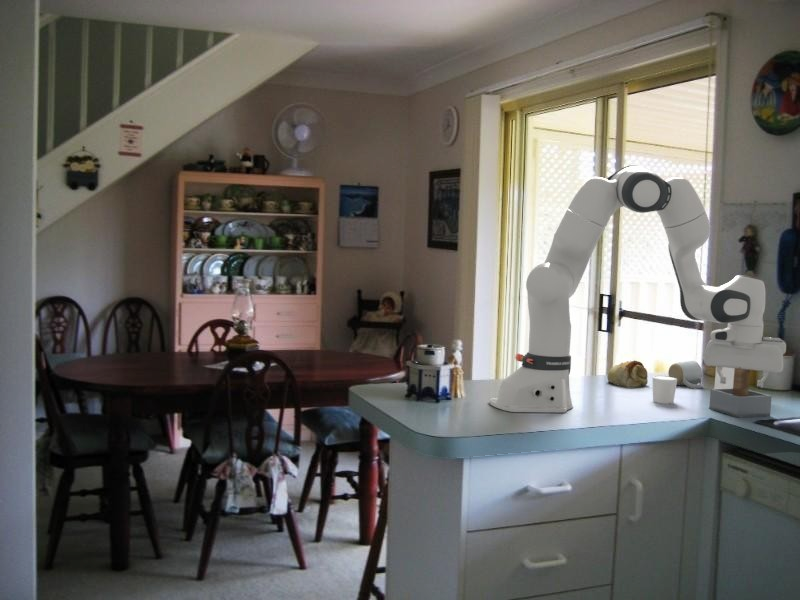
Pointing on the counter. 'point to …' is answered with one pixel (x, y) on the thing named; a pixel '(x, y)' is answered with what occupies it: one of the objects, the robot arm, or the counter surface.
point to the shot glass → (664, 389)
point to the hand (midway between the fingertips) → (741, 385)
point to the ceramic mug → (687, 373)
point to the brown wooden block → (741, 382)
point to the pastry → (628, 374)
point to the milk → (729, 377)
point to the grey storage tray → (740, 403)
